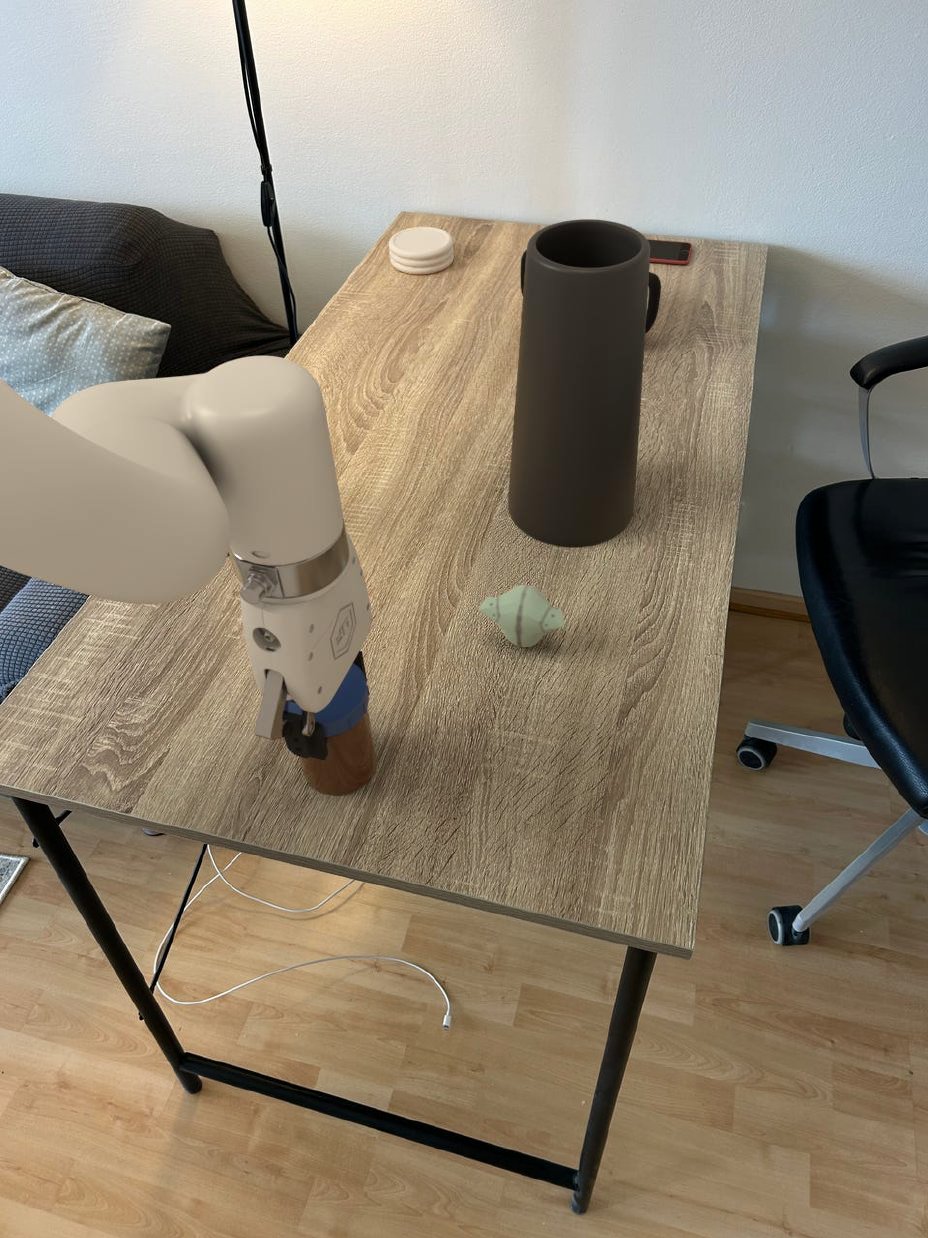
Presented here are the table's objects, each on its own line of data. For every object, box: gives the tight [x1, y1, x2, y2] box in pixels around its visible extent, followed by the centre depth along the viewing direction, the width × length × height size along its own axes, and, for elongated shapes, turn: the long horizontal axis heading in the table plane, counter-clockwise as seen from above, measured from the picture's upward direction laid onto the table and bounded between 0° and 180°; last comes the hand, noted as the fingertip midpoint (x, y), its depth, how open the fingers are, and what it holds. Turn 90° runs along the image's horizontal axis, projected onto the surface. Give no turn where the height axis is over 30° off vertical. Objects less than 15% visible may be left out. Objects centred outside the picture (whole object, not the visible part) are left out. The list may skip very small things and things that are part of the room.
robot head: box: [477, 584, 565, 648], centre depth 82 cm, size 8×4×7 cm, turn 73°
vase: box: [507, 218, 651, 548], centre depth 88 cm, size 14×14×29 cm
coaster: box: [388, 226, 455, 276], centre depth 139 cm, size 10×10×4 cm
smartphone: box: [646, 238, 693, 265], centre depth 139 cm, size 7×1×14 cm
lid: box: [288, 663, 371, 737], centre depth 69 cm, size 7×7×2 cm
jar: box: [298, 706, 378, 796], centre depth 72 cm, size 6×6×9 cm
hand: (328, 714), depth 71 cm, fingers closed on lid, 6 cm apart
